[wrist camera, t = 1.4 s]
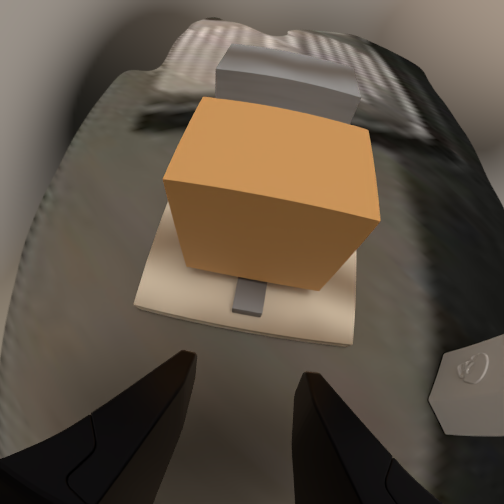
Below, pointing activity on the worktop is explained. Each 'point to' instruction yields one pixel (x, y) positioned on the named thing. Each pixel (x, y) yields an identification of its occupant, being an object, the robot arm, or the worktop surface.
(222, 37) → the worktop surface
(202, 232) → the orange-brown rectangular block
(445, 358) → the jar
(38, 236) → the worktop surface
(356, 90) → the stand
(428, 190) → the worktop surface
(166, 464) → the robot arm
